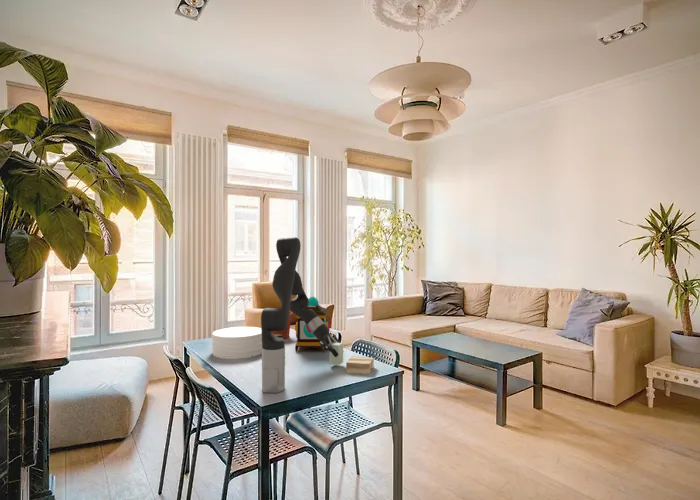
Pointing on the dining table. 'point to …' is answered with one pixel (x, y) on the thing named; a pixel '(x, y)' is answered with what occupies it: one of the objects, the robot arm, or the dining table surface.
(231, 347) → the plate stack
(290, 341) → the dining table surface
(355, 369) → the oak block
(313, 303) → the decorative lantern
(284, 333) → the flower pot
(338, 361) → the sage pillar
